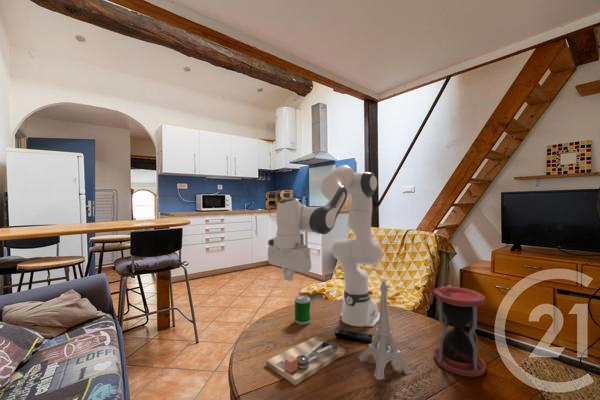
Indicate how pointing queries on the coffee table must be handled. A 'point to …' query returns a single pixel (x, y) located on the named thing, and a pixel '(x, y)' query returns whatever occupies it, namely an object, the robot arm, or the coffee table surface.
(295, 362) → the salmon pink block
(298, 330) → the coffee table surface
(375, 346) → the eiffel tower
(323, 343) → the tong arm
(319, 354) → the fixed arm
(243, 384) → the coffee table surface
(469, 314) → the hourglass
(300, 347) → the board
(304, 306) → the soda can
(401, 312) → the coffee table surface
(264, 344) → the coffee table surface
